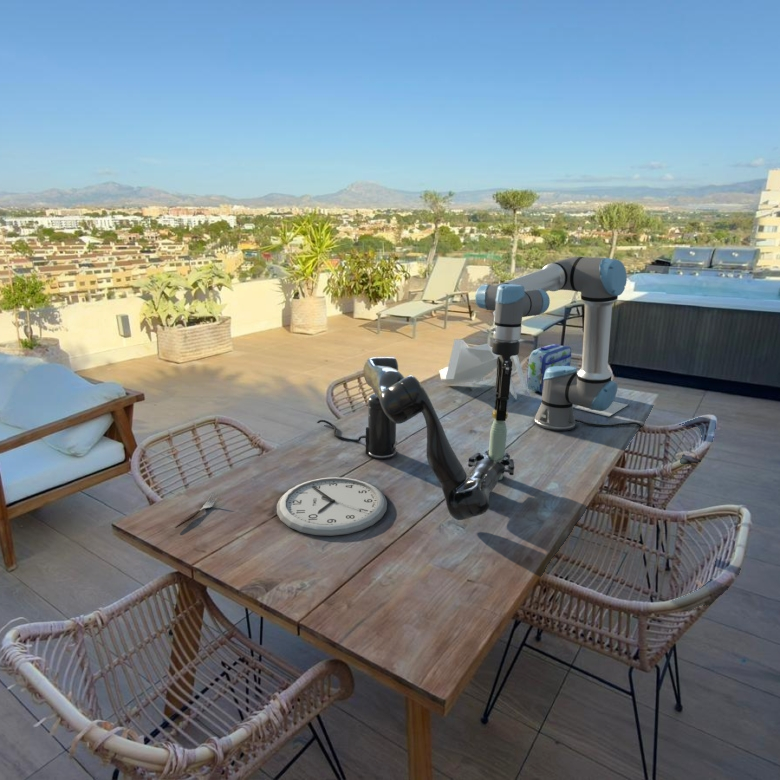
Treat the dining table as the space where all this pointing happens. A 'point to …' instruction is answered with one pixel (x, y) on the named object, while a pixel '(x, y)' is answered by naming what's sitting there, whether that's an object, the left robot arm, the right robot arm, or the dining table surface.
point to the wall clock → (331, 506)
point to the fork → (206, 505)
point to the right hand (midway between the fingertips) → (499, 417)
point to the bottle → (497, 441)
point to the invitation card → (609, 411)
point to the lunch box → (545, 363)
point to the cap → (496, 412)
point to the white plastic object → (476, 365)
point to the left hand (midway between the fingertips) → (498, 454)
